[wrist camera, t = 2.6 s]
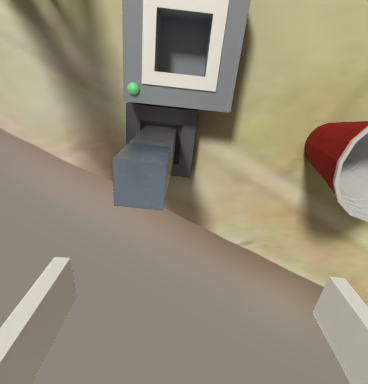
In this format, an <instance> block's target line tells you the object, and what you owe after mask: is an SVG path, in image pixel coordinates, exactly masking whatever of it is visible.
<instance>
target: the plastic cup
mask: <svg viewBox="0 0 368 384" xmlns="http://www.w3.org/2000/svg"><path fill="white" fill-rule="evenodd" d="M305 152H306V156H307V158H308V159H309V161H310V162H311V163H312V164H313V167H314V168H315V169H316V170H317V171H318V172H319V174H320V175H321V176H322V177H323V178H324V179H325V181H326V182H327V183H328V184H329V187H330V188H331V189H332V190H333V192H334V193H335V195H336V199H337V201H338V203H339V204H340V205H341V206H342V207H343V208H344V209H345V210H346V211H347V213H348V214H349V215H350V216H353V217H356V218H359V219H361V220H364V221H367V222H368V121H362V122H341V123H328V124H324V125H322V126H319V127H317V128H316V129H315V130H314V131H313V132H312V133H311V134H310V135H309V137H308V138H307V140H306V144H305Z"/></svg>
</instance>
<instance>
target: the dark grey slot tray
mask: <svg viewBox="0 0 368 384" xmlns="http://www.w3.org/2000/svg"><path fill="white" fill-rule="evenodd" d="M197 115H198V110H197V109H189V108H180V107H171V106H162V105H152V104H143V103H134V102H128V103H126V145H127V144H128V143H129V142H130V141H131V140H132V139H133V138H134V137H135V136H136V135H137V134H138V133H139V132H140V131H141V130H142V129H143V128H144V127H145V126H146V125H155V126H164V127H173V128H177V131H176V143H175V154H174V161H173V165H172V170H171V176H181V177H190V173H191V164H192V156H193V148H194V140H195V131H196V123H197Z"/></svg>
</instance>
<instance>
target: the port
mask: <svg viewBox="0 0 368 384" xmlns="http://www.w3.org/2000/svg"><path fill="white" fill-rule="evenodd" d="M249 5H250V0H122V11H123V85H124V101H126V102H136V103H145V104H154V105H163V106H172V107H181V108H191V109H200V110H209V111H218V112H227V113H230V111H231V105H232V100H233V94H234V89H235V83H236V78H237V72H238V66H239V61H240V55H241V50H242V44H243V39H244V33H245V27H246V22H247V16H248V11H249Z"/></svg>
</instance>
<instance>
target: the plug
mask: <svg viewBox="0 0 368 384" xmlns="http://www.w3.org/2000/svg"><path fill="white" fill-rule="evenodd" d="M176 131H177V128H173V127H164V126H155V125H146V126H145V127H144V128H143V129H142V130H141V131H140V132H139V133H138V134H137V135H136V136H135V137H134V138H133V139H132V140H131V141H130V142H129V143H128V144H127V145H126V146H125V147H124V148H123V149H122V150H121V151H120V152H119V153H117V154H116V155H115V156H114V157H113V158H112V160H113V185H114V206H125V207H136V208H145V209H156V210H163V208H164V203H165V199H166V194H167V189H168V184H169V180H170V175H171V170H172V165H173V161H174V154H175V143H176Z"/></svg>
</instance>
